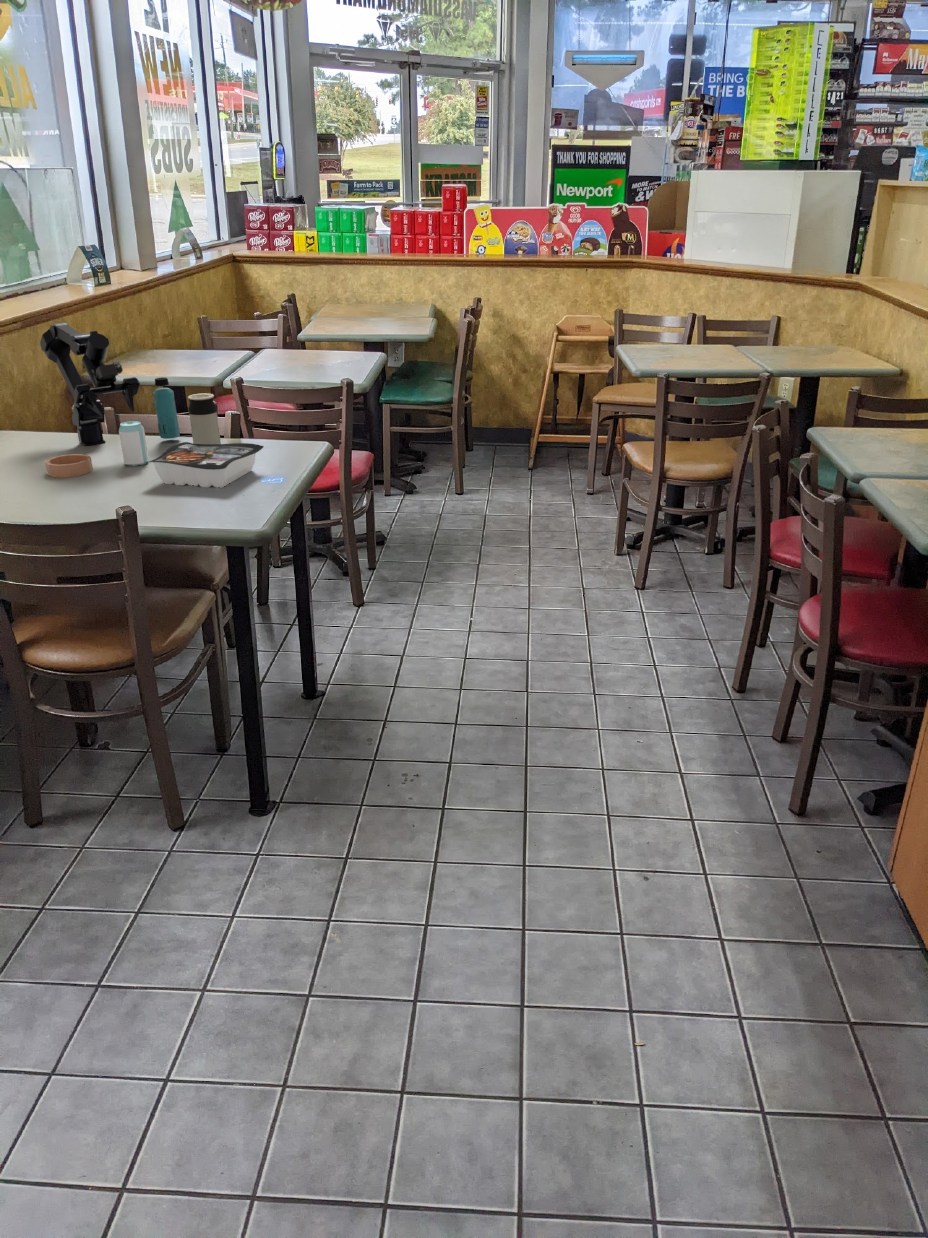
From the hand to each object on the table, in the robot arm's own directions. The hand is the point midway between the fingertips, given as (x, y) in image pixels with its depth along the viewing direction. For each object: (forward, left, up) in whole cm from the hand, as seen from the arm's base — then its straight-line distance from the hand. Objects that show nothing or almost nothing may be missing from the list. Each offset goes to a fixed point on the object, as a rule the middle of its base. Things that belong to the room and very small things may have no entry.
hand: (118, 413), depth 290 cm
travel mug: (-20, +14, -14) cm, 28 cm away
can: (0, +8, -14) cm, 16 cm away
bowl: (+18, +4, -14) cm, 22 cm away
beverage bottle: (-18, -11, -14) cm, 26 cm away
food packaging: (-11, +36, -14) cm, 40 cm away
